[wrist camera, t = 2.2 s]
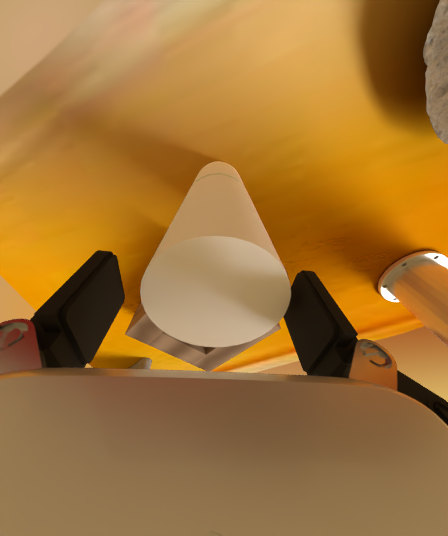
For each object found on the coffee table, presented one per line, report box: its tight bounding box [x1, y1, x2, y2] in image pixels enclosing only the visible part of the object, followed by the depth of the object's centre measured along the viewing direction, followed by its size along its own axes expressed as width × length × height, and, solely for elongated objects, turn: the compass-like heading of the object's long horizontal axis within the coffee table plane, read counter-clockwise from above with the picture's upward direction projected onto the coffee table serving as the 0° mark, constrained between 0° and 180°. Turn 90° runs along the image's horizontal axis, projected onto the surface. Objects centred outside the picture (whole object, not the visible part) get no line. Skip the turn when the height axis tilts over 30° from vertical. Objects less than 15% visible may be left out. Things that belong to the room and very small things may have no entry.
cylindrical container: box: [140, 161, 291, 347], centre depth 20 cm, size 7×7×25 cm
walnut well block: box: [125, 302, 280, 371], centre depth 40 cm, size 21×21×8 cm
